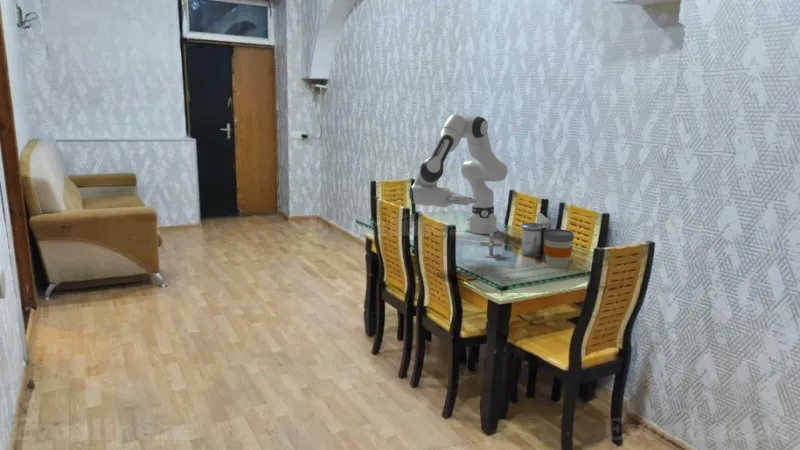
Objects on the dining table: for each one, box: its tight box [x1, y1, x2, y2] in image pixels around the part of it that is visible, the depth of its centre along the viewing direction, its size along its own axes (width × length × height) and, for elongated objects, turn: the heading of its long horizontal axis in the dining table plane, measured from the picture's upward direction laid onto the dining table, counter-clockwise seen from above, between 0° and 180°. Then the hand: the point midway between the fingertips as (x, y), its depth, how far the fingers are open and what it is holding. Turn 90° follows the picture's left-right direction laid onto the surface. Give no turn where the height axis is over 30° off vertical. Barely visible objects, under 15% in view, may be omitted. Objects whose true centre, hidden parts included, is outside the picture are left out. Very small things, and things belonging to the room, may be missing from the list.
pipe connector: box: [479, 233, 503, 256], centre depth 260 cm, size 10×10×10 cm
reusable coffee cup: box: [544, 228, 575, 270], centre depth 242 cm, size 12×13×15 cm
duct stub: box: [520, 211, 552, 260], centre depth 260 cm, size 20×11×18 cm, turn 1°
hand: (474, 200), depth 256 cm, fingers open, 8 cm apart
